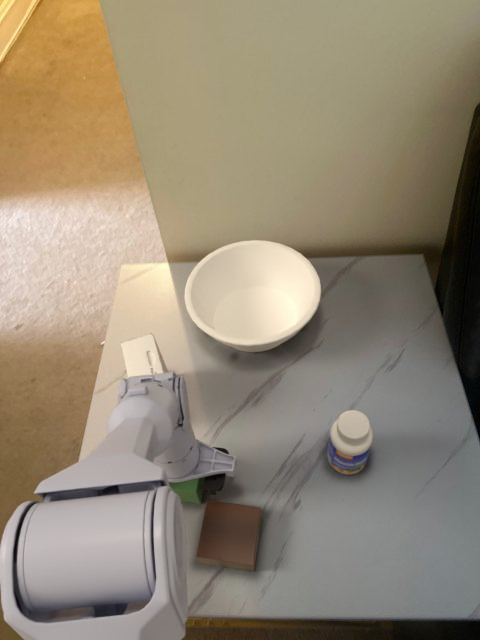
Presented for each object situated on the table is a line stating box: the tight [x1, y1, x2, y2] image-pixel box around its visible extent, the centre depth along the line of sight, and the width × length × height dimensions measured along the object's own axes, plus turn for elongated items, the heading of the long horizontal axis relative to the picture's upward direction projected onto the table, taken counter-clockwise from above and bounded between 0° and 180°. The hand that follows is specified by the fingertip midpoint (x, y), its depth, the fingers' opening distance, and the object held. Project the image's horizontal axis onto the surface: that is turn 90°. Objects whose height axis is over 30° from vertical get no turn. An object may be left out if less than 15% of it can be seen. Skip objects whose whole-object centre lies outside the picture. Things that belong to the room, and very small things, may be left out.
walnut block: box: [195, 499, 263, 572], centre depth 71 cm, size 7×7×3 cm
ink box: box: [120, 332, 169, 379], centre depth 80 cm, size 9×5×12 cm, turn 17°
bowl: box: [184, 239, 322, 353], centre depth 90 cm, size 21×21×8 cm
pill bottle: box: [326, 409, 374, 475], centre depth 74 cm, size 5×5×10 cm
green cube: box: [169, 477, 205, 505], centre depth 75 cm, size 4×4×4 cm
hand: (187, 484), depth 76 cm, fingers open, 7 cm apart
